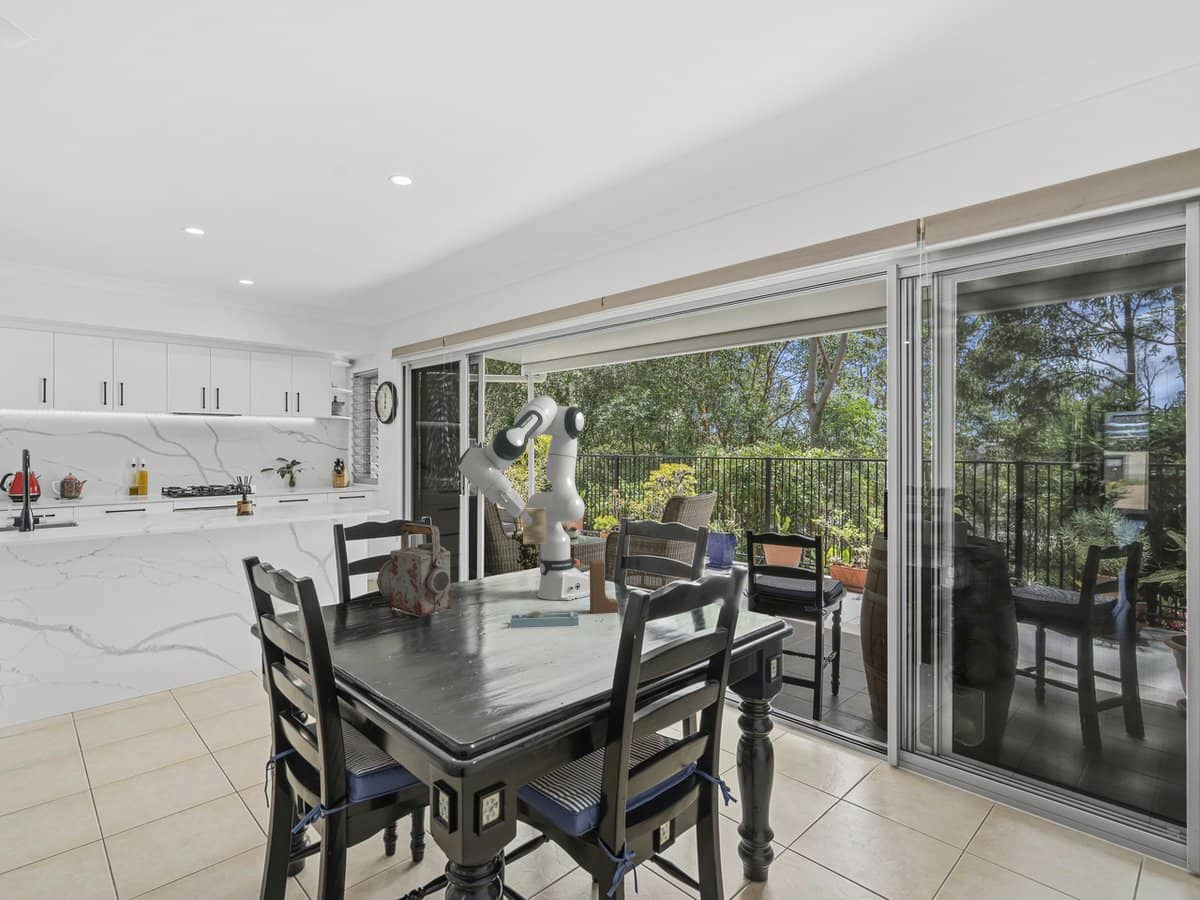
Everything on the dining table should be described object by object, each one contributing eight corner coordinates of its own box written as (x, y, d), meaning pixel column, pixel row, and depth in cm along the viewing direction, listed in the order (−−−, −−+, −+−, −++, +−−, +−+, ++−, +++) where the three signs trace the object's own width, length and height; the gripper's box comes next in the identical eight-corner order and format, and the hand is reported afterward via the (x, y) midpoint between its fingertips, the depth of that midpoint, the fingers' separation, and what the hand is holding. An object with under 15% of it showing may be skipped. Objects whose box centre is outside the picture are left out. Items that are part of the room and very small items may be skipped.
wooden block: (615, 611, 217) (615, 559, 217) (618, 615, 213) (618, 561, 213) (589, 613, 216) (589, 560, 216) (592, 617, 211) (591, 562, 211)
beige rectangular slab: (523, 544, 198) (522, 508, 198) (523, 542, 200) (523, 508, 200) (545, 543, 198) (545, 508, 198) (545, 542, 201) (545, 507, 201)
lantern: (413, 599, 237) (412, 518, 237) (459, 611, 220) (458, 524, 220) (374, 607, 225) (373, 523, 225) (420, 621, 208) (419, 529, 207)
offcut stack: (524, 625, 198) (523, 612, 198) (524, 623, 201) (524, 611, 201) (543, 625, 199) (543, 612, 199) (543, 623, 201) (543, 610, 201)
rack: (508, 632, 195) (508, 619, 195) (510, 624, 204) (510, 611, 204) (580, 630, 196) (580, 617, 196) (579, 622, 205) (579, 609, 205)
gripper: (504, 485, 188) (538, 518, 189) (509, 481, 209) (539, 510, 209) (489, 501, 188) (523, 533, 189) (495, 495, 208) (525, 524, 209)
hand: (531, 521), depth 199 cm, fingers closed on beige rectangular slab, 2 cm apart
